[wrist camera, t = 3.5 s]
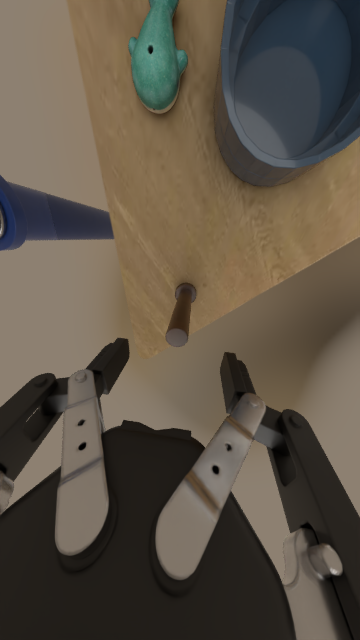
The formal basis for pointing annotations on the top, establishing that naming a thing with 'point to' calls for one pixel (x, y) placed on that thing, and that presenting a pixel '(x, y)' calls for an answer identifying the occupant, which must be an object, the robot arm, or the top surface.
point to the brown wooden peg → (181, 315)
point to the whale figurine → (157, 58)
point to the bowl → (287, 86)
